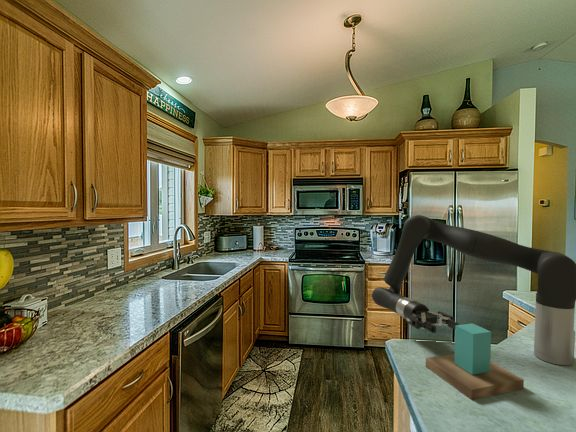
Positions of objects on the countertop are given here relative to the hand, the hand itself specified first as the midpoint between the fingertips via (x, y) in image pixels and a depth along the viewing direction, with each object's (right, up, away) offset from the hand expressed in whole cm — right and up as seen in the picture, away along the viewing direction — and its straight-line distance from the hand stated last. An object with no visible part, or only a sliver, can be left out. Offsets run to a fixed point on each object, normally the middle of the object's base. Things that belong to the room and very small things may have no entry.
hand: (446, 328), depth 94 cm
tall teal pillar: (+2, -8, -9) cm, 12 cm away
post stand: (+2, -10, -8) cm, 14 cm away
